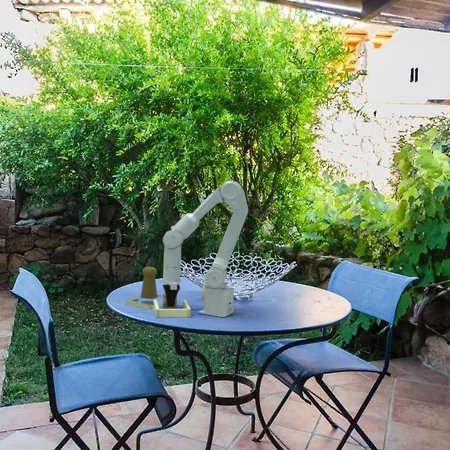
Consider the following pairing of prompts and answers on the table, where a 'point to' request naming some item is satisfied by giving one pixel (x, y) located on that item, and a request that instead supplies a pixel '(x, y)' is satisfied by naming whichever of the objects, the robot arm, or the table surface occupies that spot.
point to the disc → (148, 302)
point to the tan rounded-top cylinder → (203, 291)
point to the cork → (149, 283)
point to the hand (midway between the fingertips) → (170, 306)
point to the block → (164, 302)
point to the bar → (138, 303)
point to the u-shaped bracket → (172, 311)
